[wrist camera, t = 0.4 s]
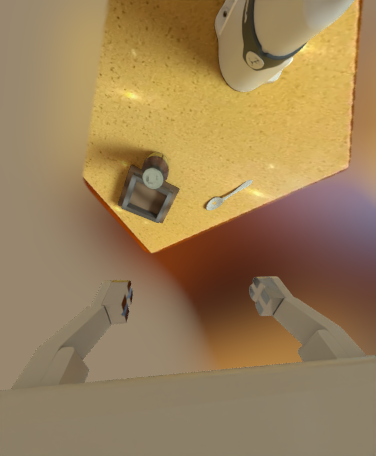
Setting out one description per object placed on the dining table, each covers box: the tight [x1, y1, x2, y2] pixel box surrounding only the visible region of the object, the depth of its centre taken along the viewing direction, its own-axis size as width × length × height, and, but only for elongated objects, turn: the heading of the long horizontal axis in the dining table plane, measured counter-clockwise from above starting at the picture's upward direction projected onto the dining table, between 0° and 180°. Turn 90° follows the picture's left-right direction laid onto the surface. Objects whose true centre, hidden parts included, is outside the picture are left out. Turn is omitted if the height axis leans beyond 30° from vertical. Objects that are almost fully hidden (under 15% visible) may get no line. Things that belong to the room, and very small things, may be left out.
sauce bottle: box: [142, 152, 169, 189], centre depth 37 cm, size 6×6×20 cm
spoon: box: [206, 180, 252, 210], centre depth 52 cm, size 4×21×2 cm, turn 122°
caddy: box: [118, 165, 180, 223], centre depth 48 cm, size 14×16×5 cm
